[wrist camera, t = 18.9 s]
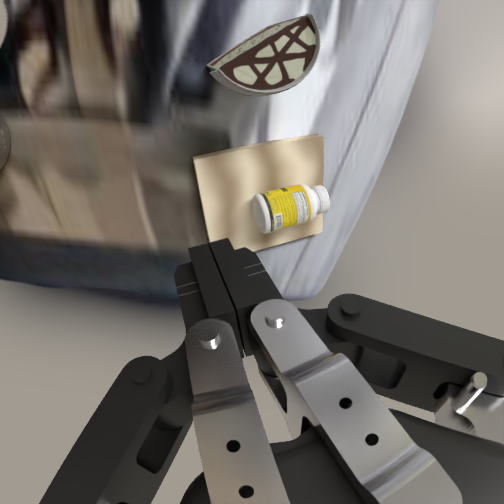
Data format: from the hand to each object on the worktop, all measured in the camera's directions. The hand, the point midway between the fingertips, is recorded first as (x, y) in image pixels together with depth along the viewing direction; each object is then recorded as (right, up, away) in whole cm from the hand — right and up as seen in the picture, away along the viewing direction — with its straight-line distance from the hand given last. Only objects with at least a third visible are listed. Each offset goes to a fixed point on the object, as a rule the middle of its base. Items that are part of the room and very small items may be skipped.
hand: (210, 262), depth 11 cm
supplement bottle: (+2, +5, +29) cm, 30 cm away
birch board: (+3, +8, +33) cm, 34 cm away
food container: (+1, +24, +22) cm, 32 cm away
